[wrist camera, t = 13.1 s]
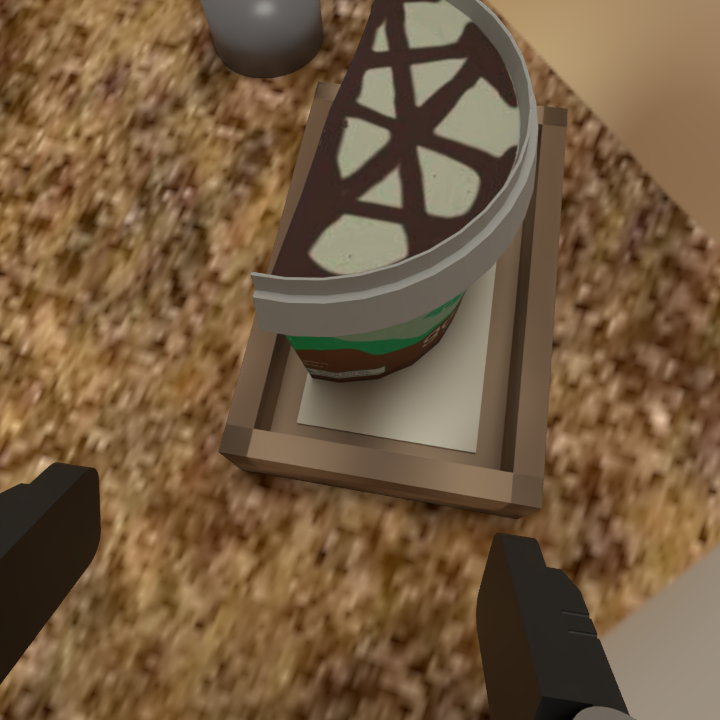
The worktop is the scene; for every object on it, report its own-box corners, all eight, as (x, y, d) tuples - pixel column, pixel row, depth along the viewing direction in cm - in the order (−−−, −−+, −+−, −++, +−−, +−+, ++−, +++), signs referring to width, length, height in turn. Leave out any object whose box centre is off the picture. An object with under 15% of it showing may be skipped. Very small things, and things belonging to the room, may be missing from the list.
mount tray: (241, 469, 23) (218, 451, 20) (325, 138, 29) (318, 82, 26) (517, 518, 22) (541, 508, 19) (545, 164, 28) (567, 108, 24)
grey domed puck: (203, 74, 31) (185, 23, 28) (231, -3, 33) (217, -58, 30) (310, 86, 30) (303, 35, 28) (332, 6, 32) (328, -48, 30)
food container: (453, 453, 22) (508, 359, 12) (300, 412, 22) (242, 294, 13) (512, 193, 26) (586, -26, 16) (381, 166, 27) (381, -57, 17)
